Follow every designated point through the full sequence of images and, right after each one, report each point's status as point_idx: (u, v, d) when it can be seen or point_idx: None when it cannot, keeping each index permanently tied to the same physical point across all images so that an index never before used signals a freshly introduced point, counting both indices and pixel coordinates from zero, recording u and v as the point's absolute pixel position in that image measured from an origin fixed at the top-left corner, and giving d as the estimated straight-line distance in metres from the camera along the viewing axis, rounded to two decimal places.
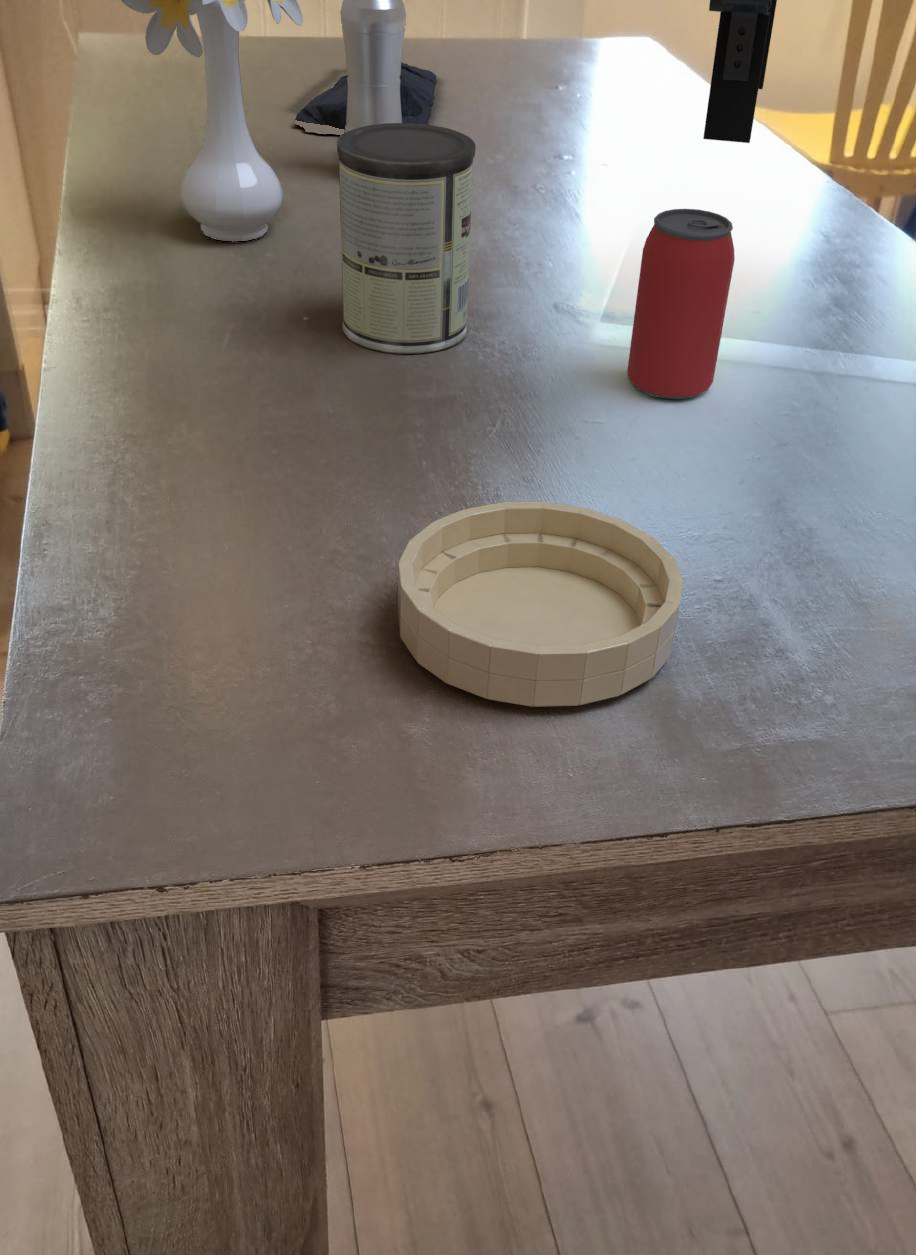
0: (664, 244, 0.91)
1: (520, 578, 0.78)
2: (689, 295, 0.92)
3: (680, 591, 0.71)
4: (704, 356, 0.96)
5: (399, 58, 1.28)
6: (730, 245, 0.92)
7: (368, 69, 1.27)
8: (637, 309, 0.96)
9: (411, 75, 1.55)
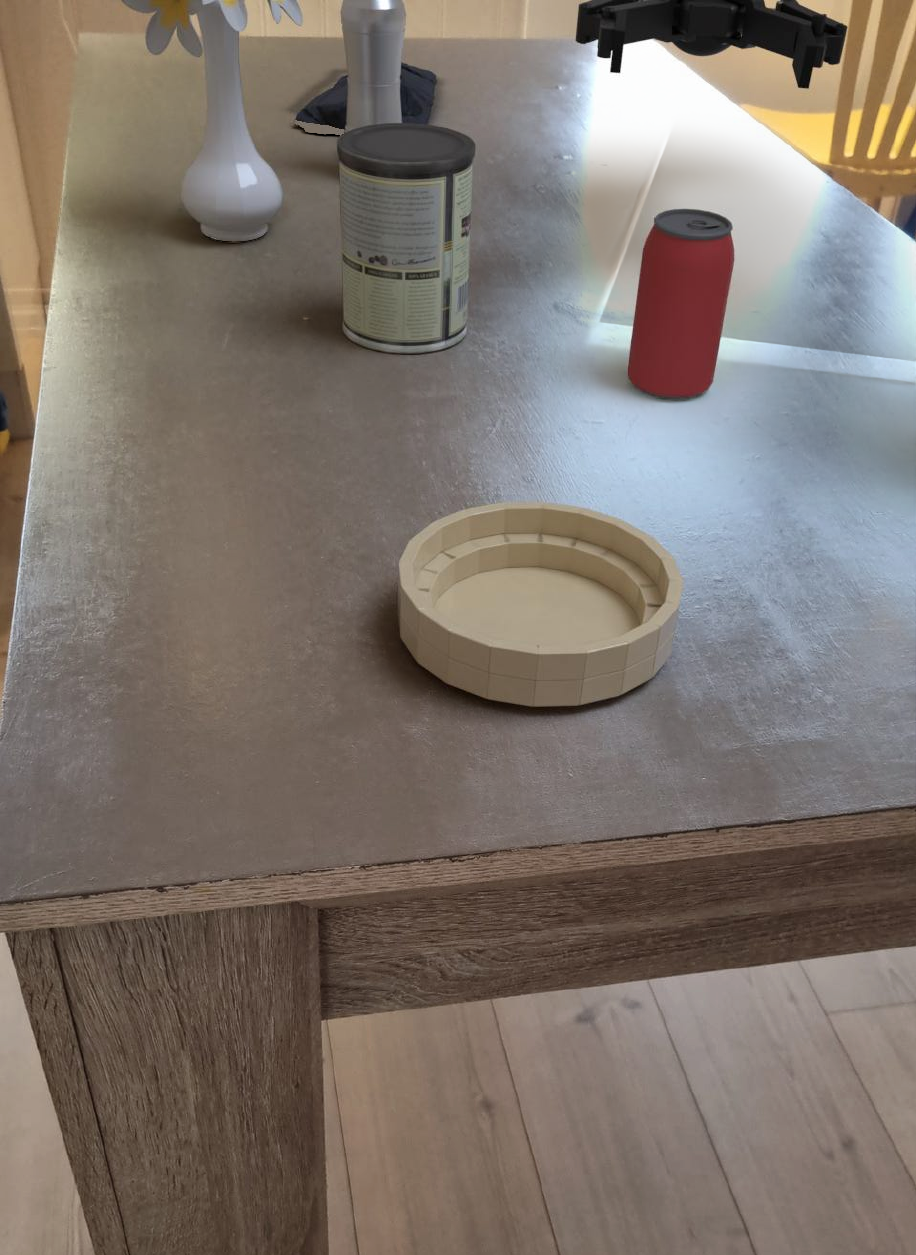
0: (664, 243, 0.91)
1: (520, 578, 0.78)
2: (689, 295, 0.92)
3: (680, 591, 0.71)
4: (704, 356, 0.96)
5: (399, 58, 1.28)
6: (730, 245, 0.92)
7: (368, 69, 1.27)
8: (637, 309, 0.96)
9: (411, 75, 1.55)
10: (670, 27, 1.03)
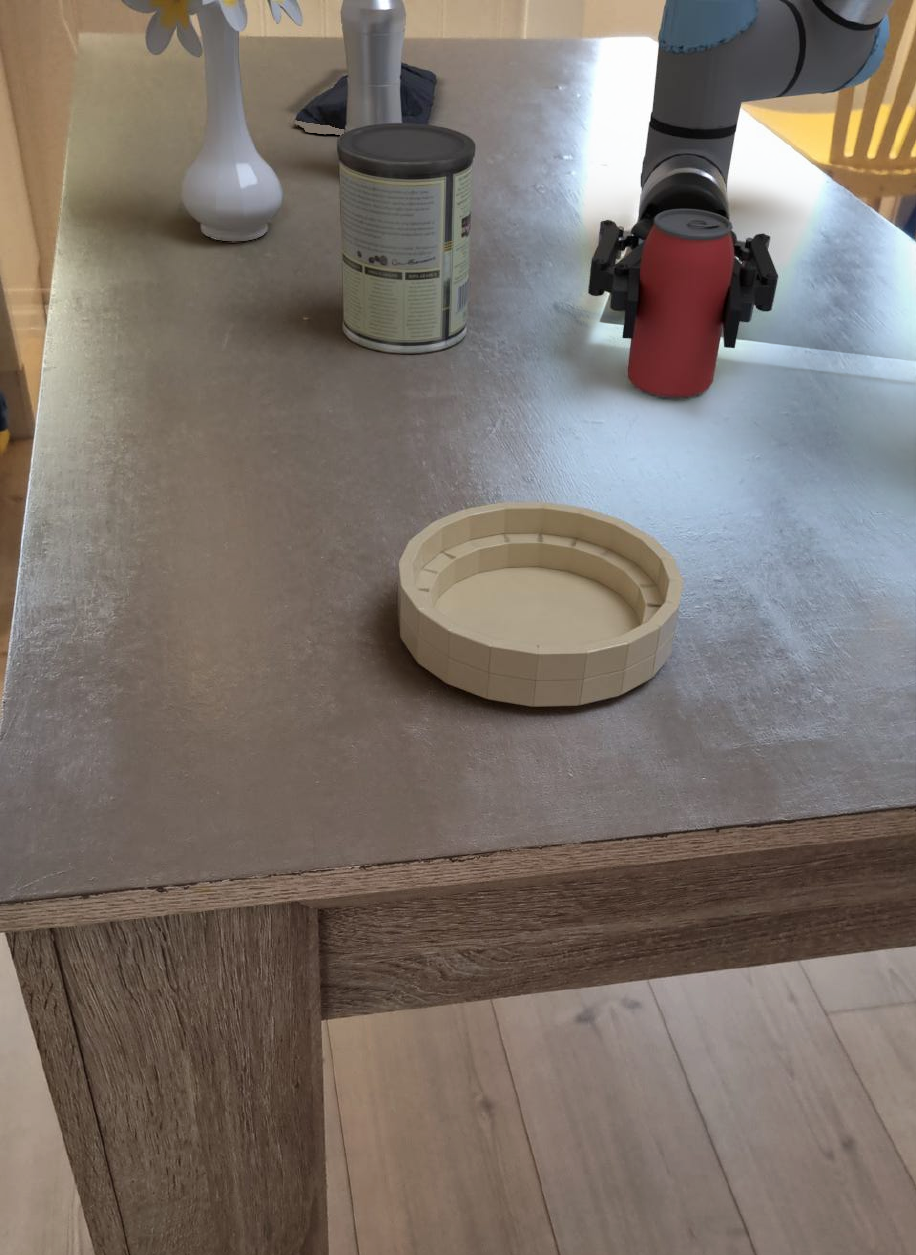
0: (664, 244, 0.91)
1: (520, 578, 0.78)
2: (689, 294, 0.92)
3: (680, 591, 0.71)
4: (704, 356, 0.96)
5: (399, 58, 1.28)
6: (730, 245, 0.92)
7: (368, 69, 1.27)
8: (637, 309, 0.96)
9: (411, 75, 1.55)
10: None
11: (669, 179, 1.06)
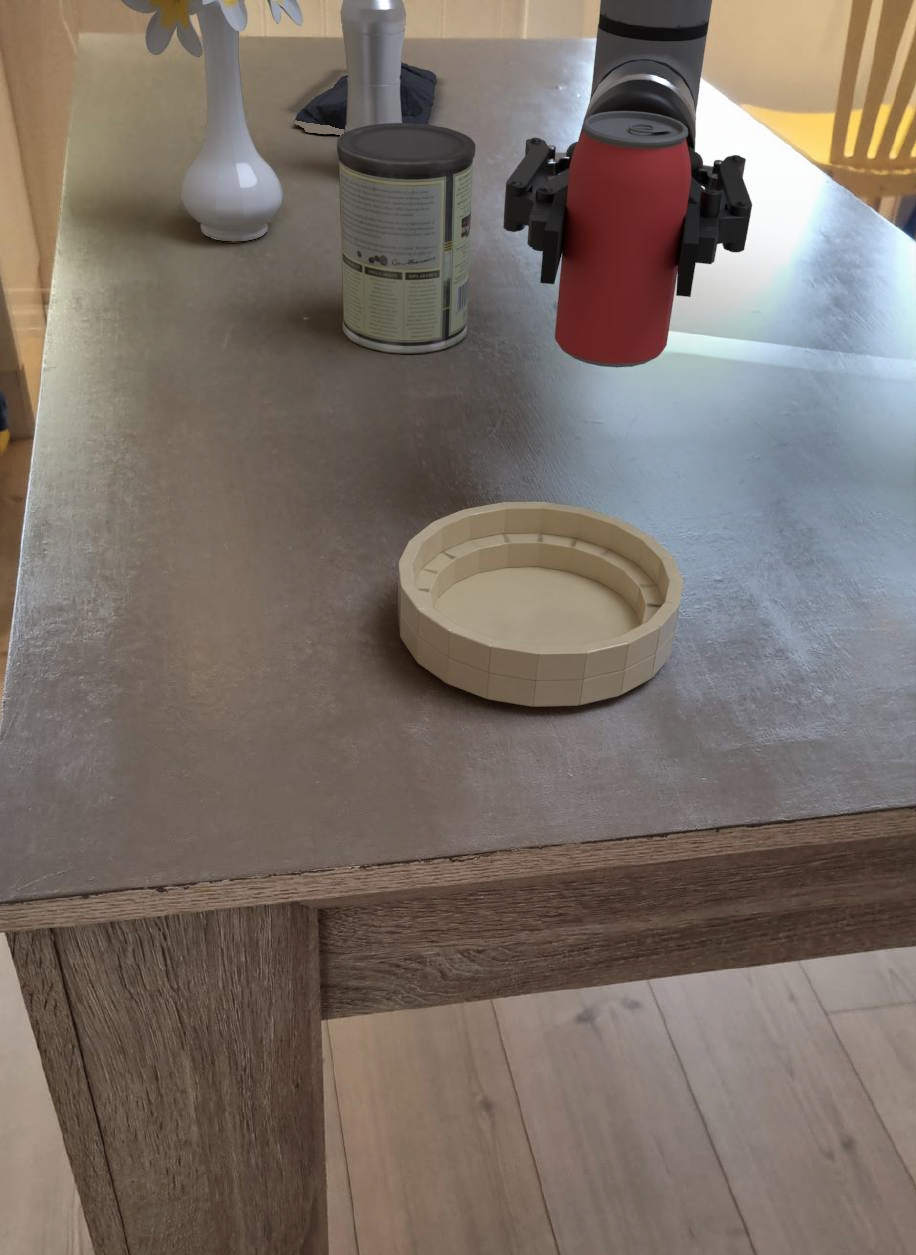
0: (595, 154, 0.68)
1: (520, 578, 0.78)
2: (629, 224, 0.69)
3: (680, 591, 0.71)
4: (653, 310, 0.72)
5: (399, 58, 1.28)
6: (685, 157, 0.68)
7: (368, 69, 1.27)
8: (564, 246, 0.72)
9: (411, 75, 1.55)
10: None
11: (618, 87, 0.82)
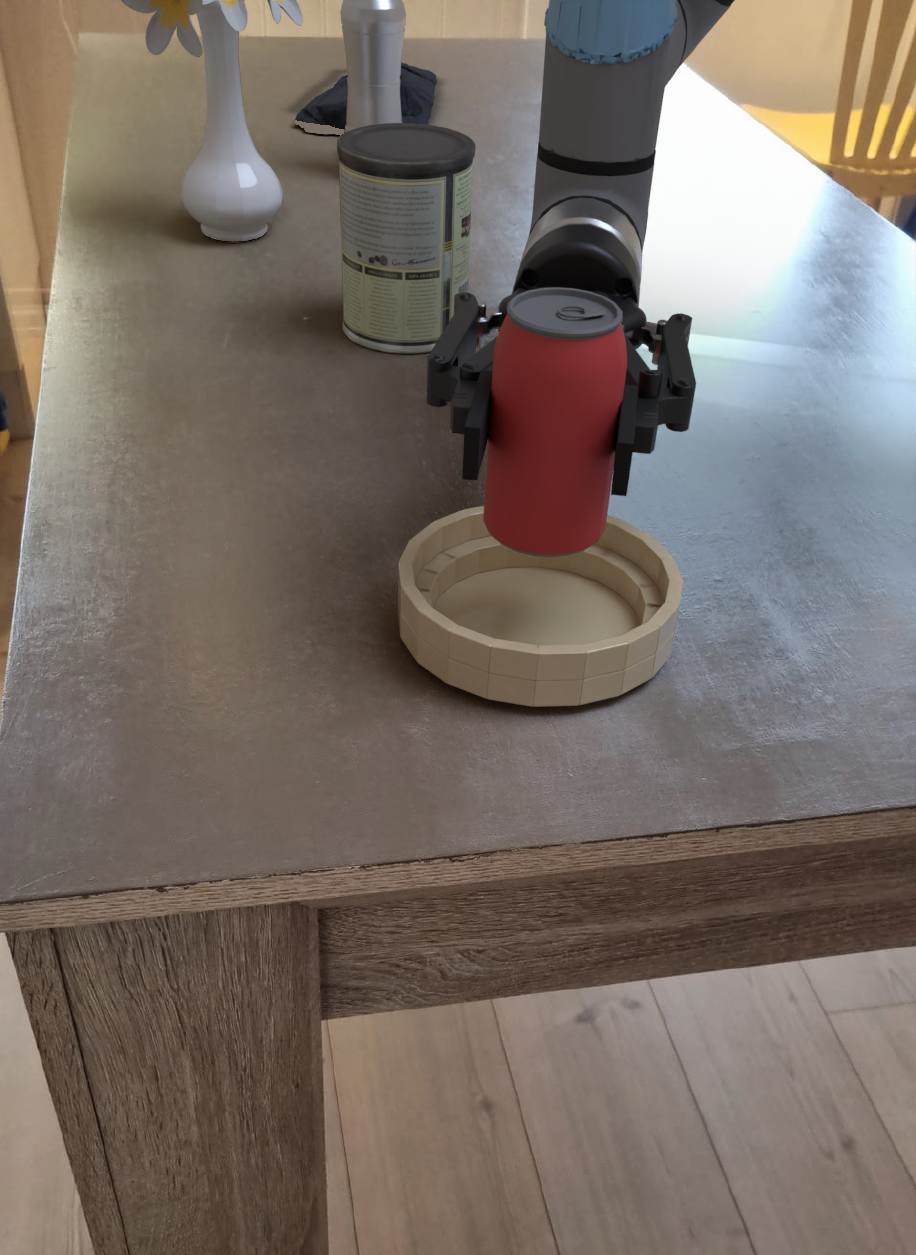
0: (519, 343, 0.61)
1: (520, 578, 0.78)
2: (559, 417, 0.62)
3: (680, 591, 0.71)
4: (587, 500, 0.66)
5: (399, 58, 1.28)
6: (619, 344, 0.62)
7: (368, 69, 1.27)
8: (490, 431, 0.66)
9: (411, 75, 1.55)
10: None
11: (555, 234, 0.76)
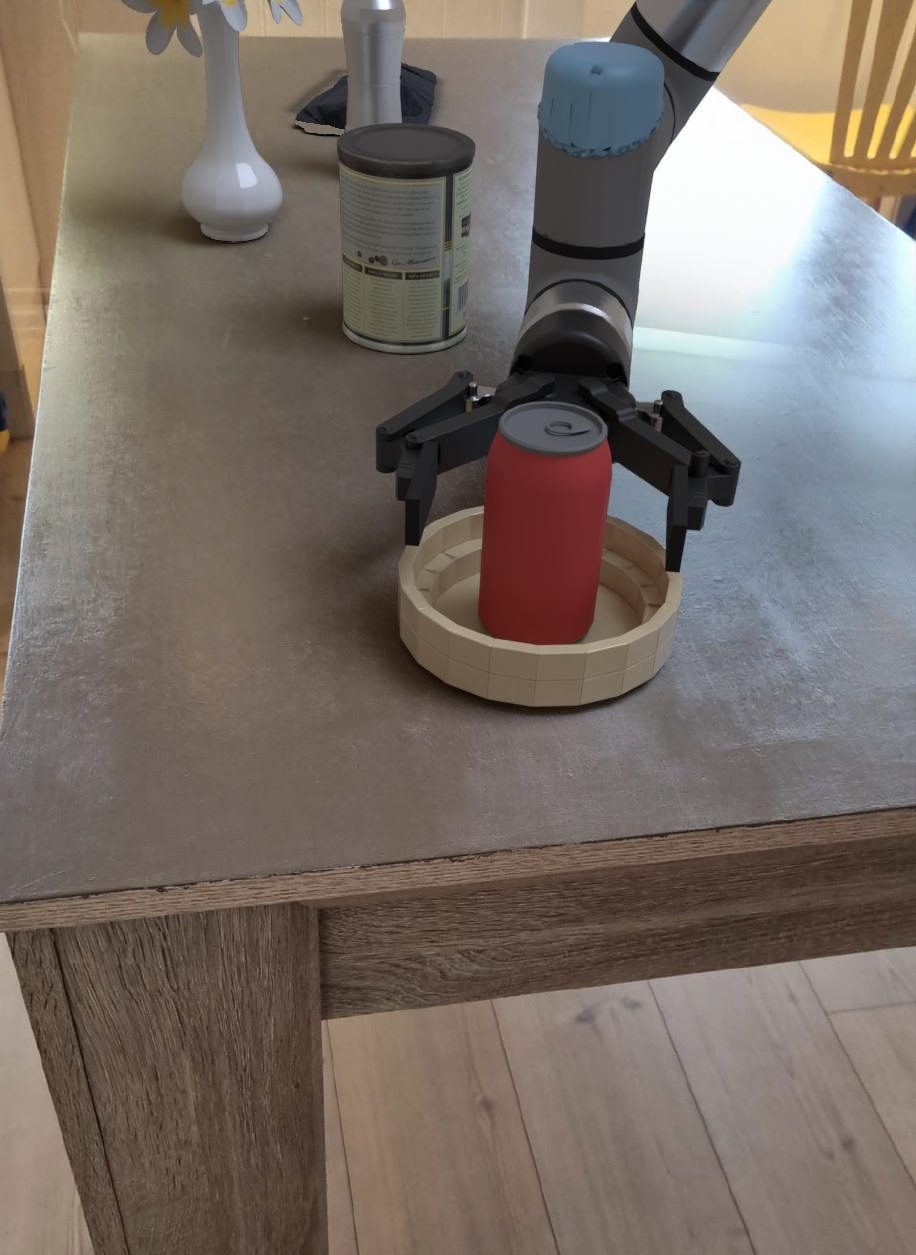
0: (510, 458, 0.65)
1: None
2: (548, 526, 0.66)
3: (680, 591, 0.71)
4: (576, 598, 0.70)
5: (399, 58, 1.28)
6: (604, 458, 0.66)
7: (368, 69, 1.27)
8: (483, 534, 0.70)
9: (411, 75, 1.55)
10: None
11: (548, 321, 0.79)
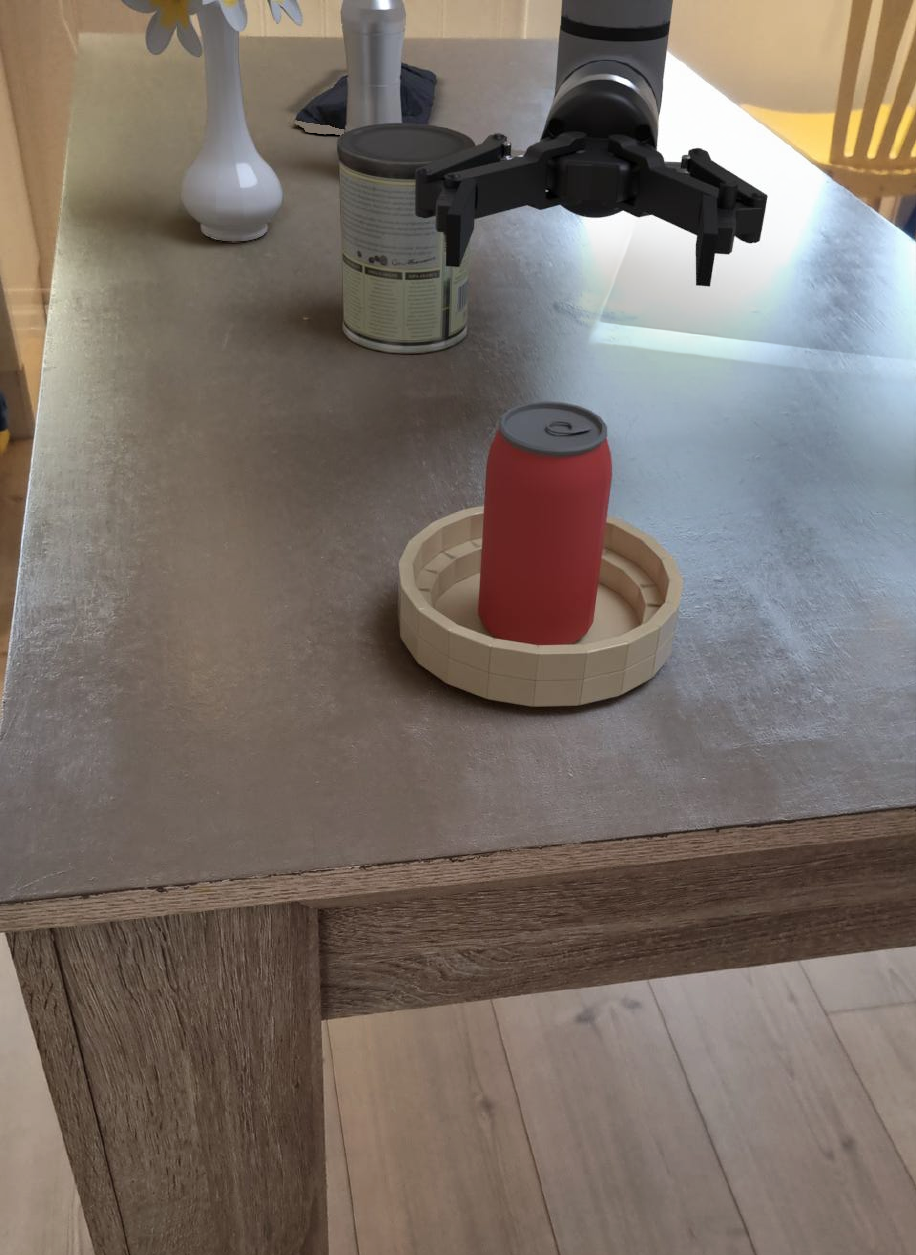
0: (510, 458, 0.65)
1: None
2: (548, 526, 0.66)
3: (680, 591, 0.71)
4: (576, 598, 0.70)
5: (399, 58, 1.28)
6: (604, 458, 0.66)
7: (368, 69, 1.27)
8: (483, 534, 0.70)
9: (411, 75, 1.55)
10: (543, 191, 0.79)
11: (578, 88, 0.82)
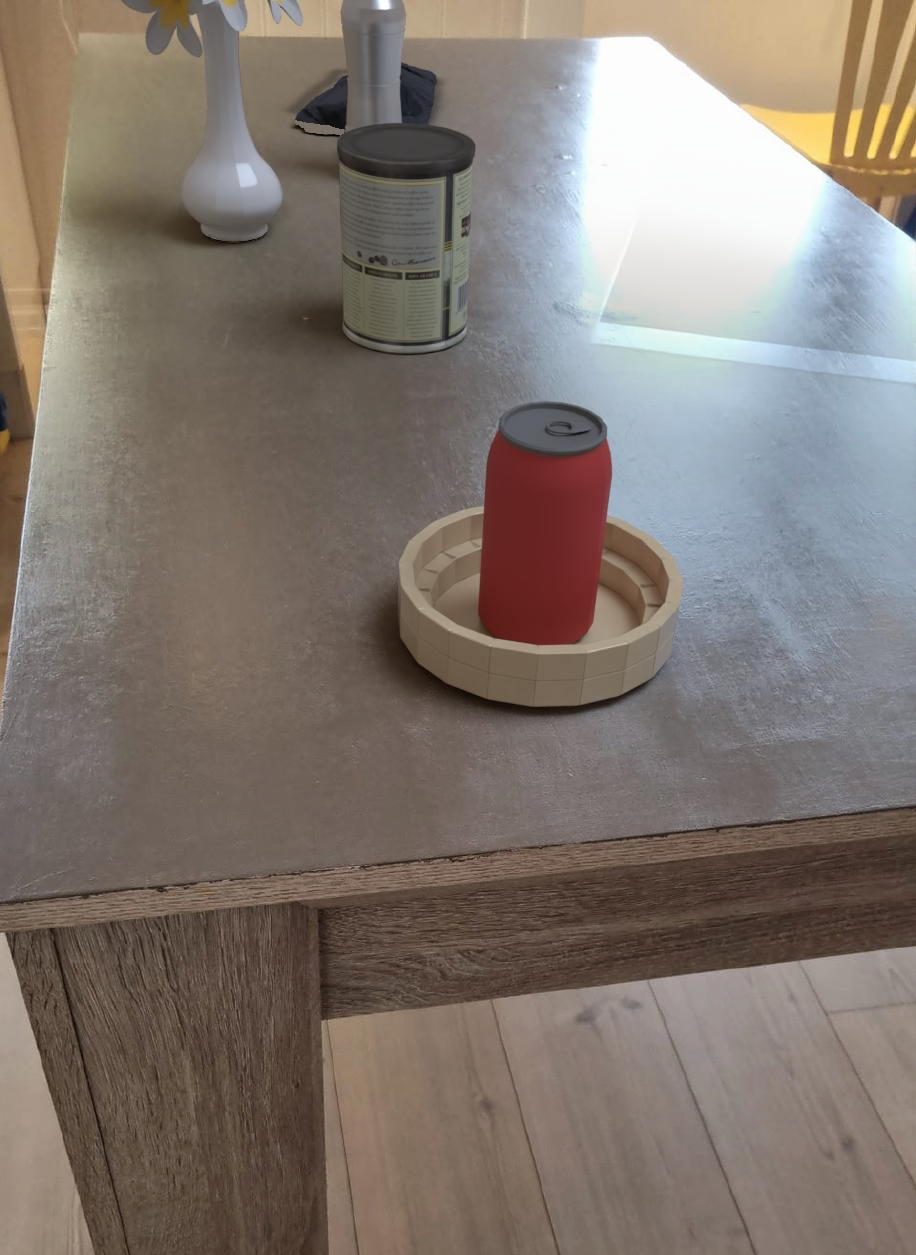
0: (510, 458, 0.65)
1: None
2: (548, 526, 0.66)
3: (680, 591, 0.71)
4: (576, 598, 0.70)
5: (399, 58, 1.28)
6: (604, 458, 0.66)
7: (368, 69, 1.27)
8: (483, 534, 0.70)
9: (411, 75, 1.55)
10: None
11: None
